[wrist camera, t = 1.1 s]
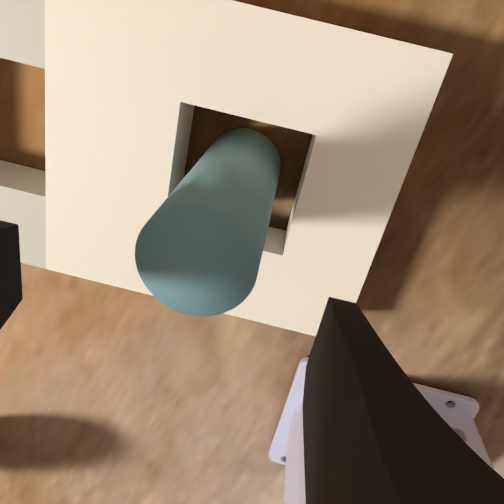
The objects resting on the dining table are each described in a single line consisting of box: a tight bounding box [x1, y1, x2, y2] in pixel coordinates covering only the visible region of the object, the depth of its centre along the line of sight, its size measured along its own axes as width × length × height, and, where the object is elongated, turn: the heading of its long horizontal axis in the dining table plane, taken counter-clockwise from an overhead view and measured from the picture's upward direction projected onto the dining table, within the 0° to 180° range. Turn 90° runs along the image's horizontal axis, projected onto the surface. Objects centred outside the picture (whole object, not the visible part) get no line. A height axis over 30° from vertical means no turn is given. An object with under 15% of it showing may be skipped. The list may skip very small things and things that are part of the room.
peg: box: [135, 128, 281, 316], centre depth 16 cm, size 3×3×9 cm
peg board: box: [0, 0, 453, 336], centre depth 18 cm, size 22×12×2 cm, turn 78°
